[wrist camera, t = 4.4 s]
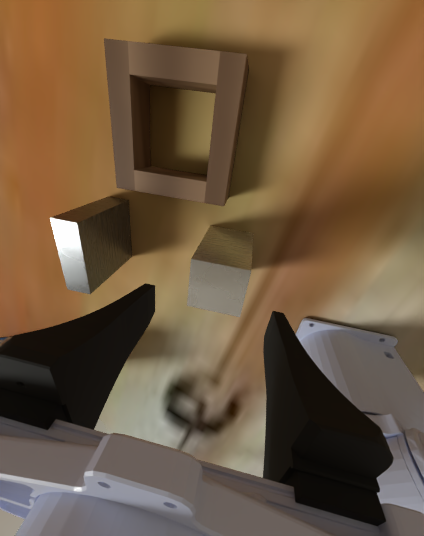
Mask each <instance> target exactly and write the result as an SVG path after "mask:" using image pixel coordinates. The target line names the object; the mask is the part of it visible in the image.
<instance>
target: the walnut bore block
mask: <svg viewBox="0 0 424 536" xmlns="http://www.w3.org/2000/svg"><path fill="white" fill-rule="evenodd" d="M104 45H105V57H106V68H107V80H108V91H109V103H110V114H111V126H112V137H113V149H114V161H115V172H116V184H117V188H121V189H127V190H133V191H139V192H144V193H150V194H156V195H162V196H168V197H173V198H179V199H185V200H191V201H197V202H202V203H208V204H214V205H220V206H224V205H225V203H226V201H227V199H228V198H229V191H230V185H231V179H232V172H233V166H234V160H235V153H236V147H237V141H238V134H239V128H240V122H241V115H242V109H243V103H244V96H245V90H246V83H247V77H248V71H249V67H248V59H247V54H242V53H233V52H224V51H215V50H205V49H196V48H187V47H178V46H168V45H159V44H150V43H141V42H131V41H122V40H113V39H104ZM150 85H155V86H162V87H170V88H178V89H186V90H194V91H202V92H210V93H216V97H215V106H214V115H213V125H212V134H211V144H210V153H209V163H208V172H207V175H202V174H195V173H189V172H183V171H177V170H171V169H164V168H158V167H152V166H151V150H150Z"/></svg>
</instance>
